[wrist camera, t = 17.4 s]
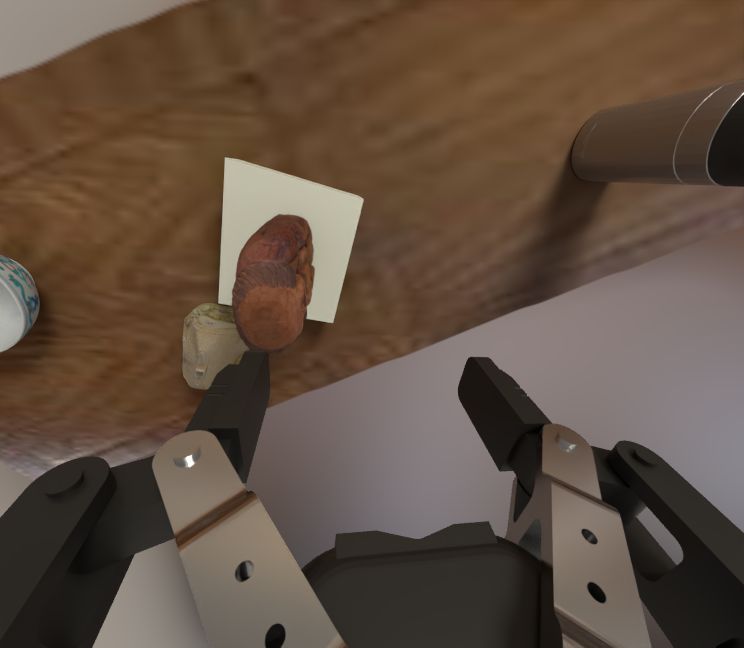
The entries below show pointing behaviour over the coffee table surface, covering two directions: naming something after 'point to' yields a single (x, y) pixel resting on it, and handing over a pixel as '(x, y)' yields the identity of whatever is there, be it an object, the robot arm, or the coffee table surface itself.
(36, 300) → the chinaware
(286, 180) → the cream white square block
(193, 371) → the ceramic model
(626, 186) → the coffee table surface
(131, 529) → the robot arm
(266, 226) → the wooden figurine
